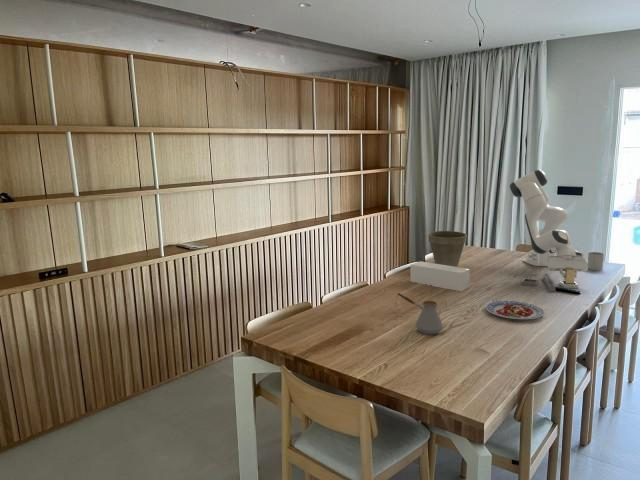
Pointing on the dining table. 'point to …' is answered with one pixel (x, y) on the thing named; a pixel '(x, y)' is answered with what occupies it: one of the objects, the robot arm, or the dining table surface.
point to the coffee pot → (427, 317)
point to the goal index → (529, 282)
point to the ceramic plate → (515, 309)
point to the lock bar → (569, 275)
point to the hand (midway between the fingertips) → (569, 277)
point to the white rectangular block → (440, 275)
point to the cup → (595, 261)
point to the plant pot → (447, 246)
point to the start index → (568, 285)
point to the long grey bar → (549, 283)
